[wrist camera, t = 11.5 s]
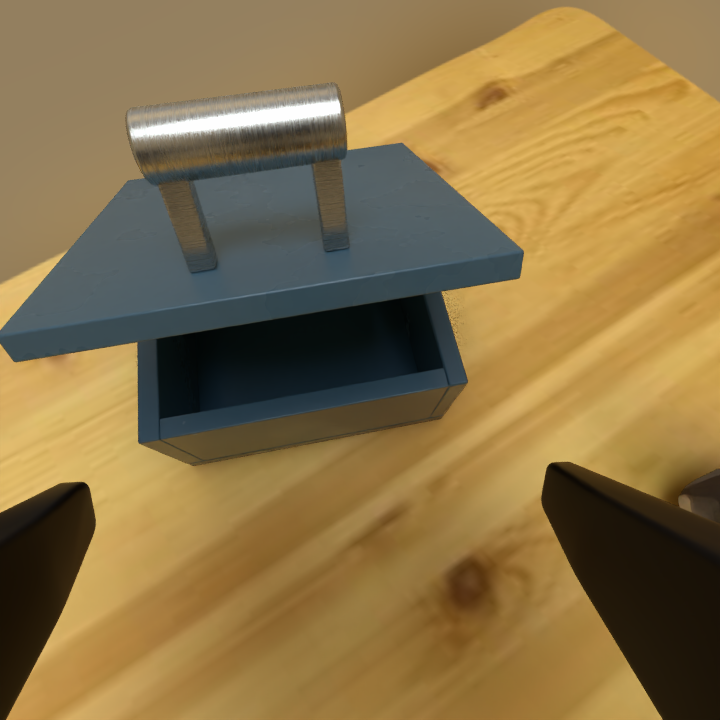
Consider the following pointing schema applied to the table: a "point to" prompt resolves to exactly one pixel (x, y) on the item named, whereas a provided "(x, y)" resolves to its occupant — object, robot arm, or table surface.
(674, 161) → the table surface
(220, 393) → the compartment
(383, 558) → the table surface
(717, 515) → the black sponge
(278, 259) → the blue-grey box lid
